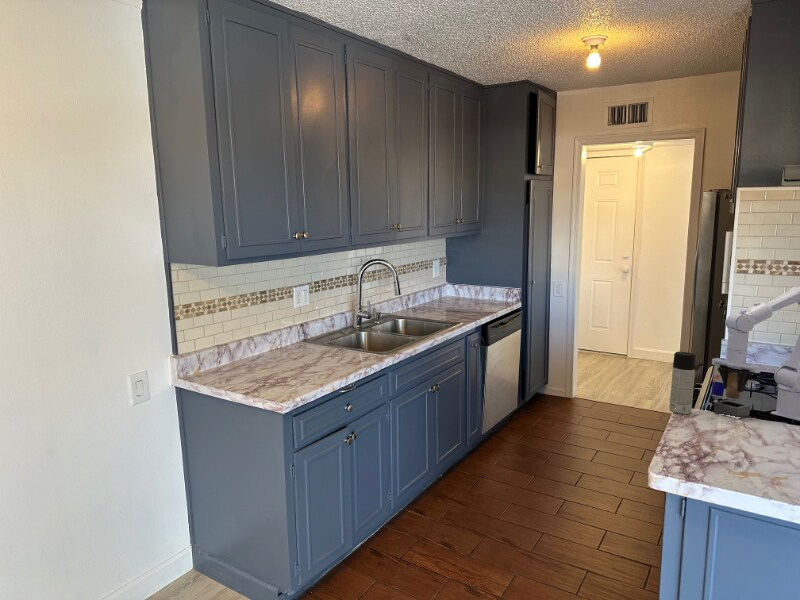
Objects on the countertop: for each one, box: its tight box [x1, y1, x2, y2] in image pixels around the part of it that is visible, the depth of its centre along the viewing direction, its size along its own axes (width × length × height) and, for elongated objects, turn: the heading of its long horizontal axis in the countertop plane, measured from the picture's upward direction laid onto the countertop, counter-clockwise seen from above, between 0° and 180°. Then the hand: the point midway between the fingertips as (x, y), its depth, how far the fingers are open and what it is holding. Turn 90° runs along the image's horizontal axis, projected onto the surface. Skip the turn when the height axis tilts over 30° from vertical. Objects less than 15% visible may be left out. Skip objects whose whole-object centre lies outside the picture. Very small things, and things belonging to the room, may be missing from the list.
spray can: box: [669, 351, 697, 415], centre depth 187 cm, size 7×7×20 cm
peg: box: [726, 371, 741, 400], centre depth 185 cm, size 4×4×8 cm
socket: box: [713, 399, 751, 418], centre depth 186 cm, size 8×8×4 cm
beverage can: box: [711, 357, 728, 400], centre depth 206 cm, size 5×5×15 cm
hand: (733, 389), depth 185 cm, fingers closed on peg, 4 cm apart
